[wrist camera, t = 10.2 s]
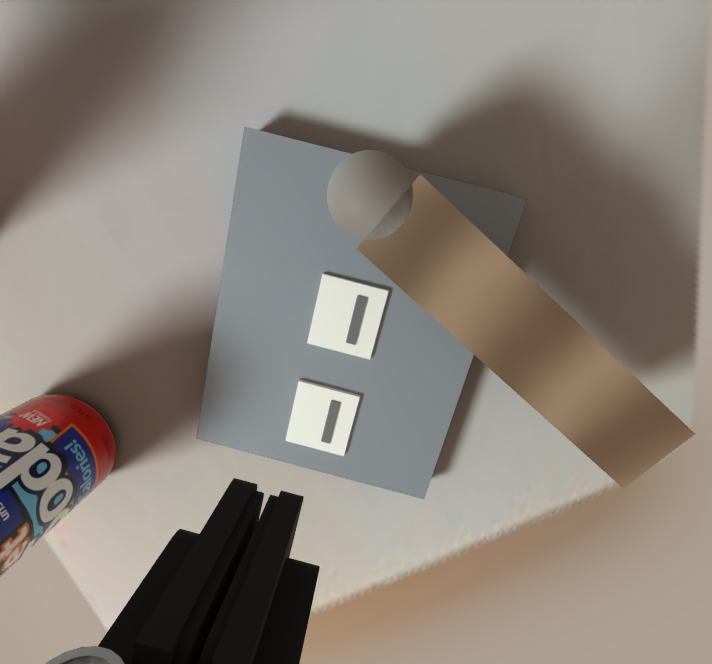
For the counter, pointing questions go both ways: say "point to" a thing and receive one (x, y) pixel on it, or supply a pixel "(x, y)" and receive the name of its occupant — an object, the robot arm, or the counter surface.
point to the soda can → (47, 467)
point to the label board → (330, 329)
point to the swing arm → (501, 315)
